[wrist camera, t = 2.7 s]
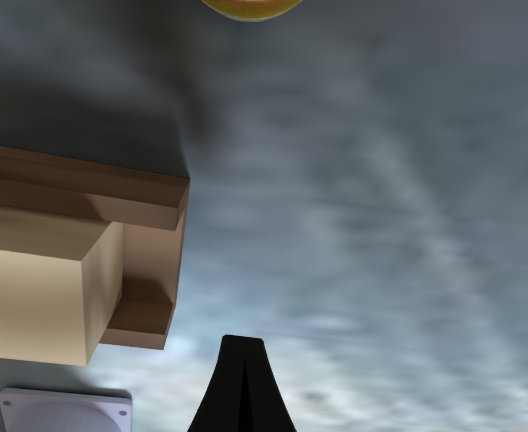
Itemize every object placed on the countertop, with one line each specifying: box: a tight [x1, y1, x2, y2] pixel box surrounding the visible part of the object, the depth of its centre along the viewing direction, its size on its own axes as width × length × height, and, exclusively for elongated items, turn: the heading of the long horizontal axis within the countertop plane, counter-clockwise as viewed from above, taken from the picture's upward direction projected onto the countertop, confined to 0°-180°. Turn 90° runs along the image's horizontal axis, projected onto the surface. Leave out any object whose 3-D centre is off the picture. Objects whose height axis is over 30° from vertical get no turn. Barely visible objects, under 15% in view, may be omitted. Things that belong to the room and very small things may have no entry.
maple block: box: [0, 204, 123, 366], centre depth 13 cm, size 5×5×4 cm
